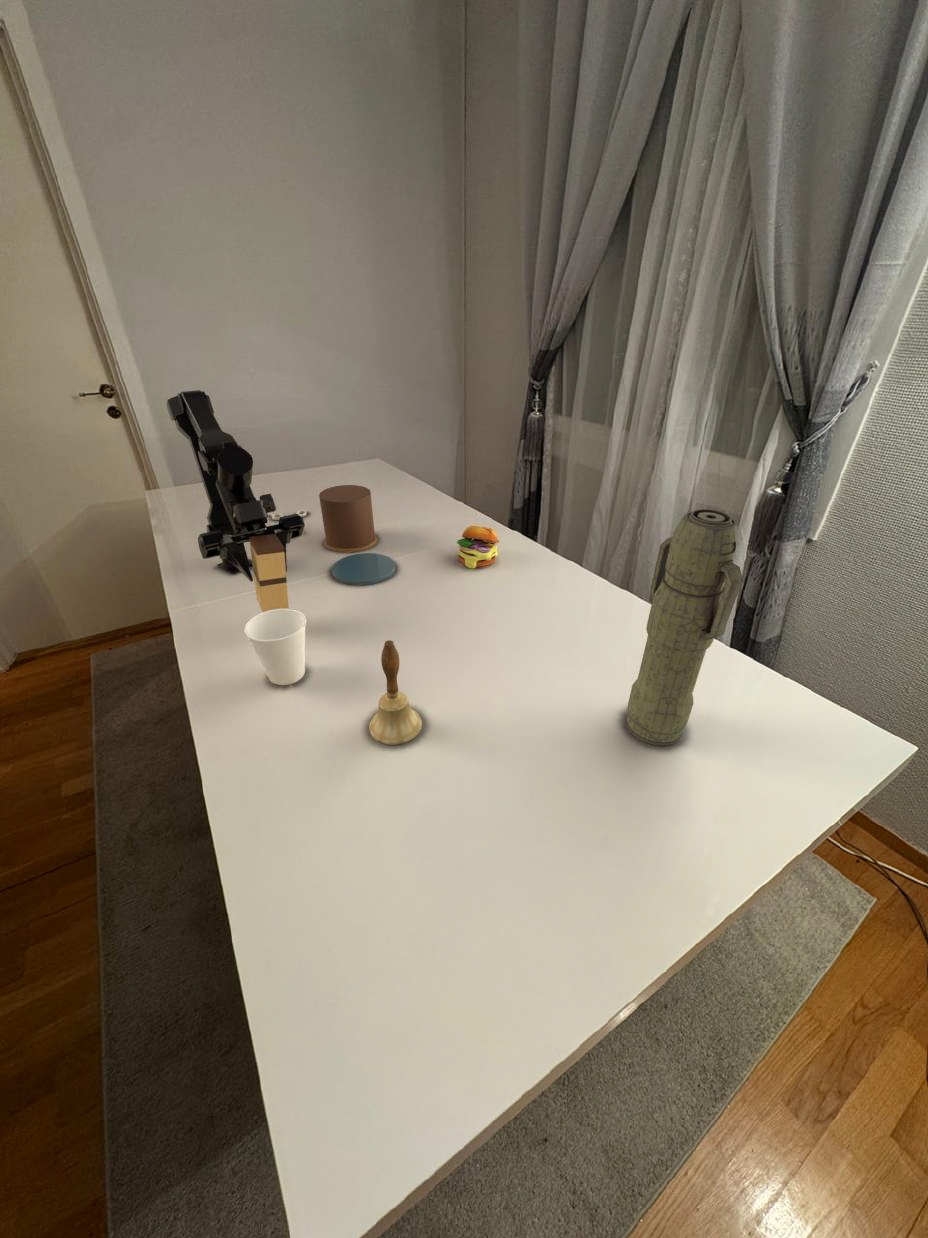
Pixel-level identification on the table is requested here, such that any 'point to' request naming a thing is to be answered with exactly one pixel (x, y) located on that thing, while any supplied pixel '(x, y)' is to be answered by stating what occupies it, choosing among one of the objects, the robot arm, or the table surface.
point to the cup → (279, 643)
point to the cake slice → (269, 572)
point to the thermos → (683, 622)
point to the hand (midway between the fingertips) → (269, 576)
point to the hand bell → (393, 706)
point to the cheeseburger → (478, 546)
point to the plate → (363, 569)
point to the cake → (347, 518)
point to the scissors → (283, 515)
